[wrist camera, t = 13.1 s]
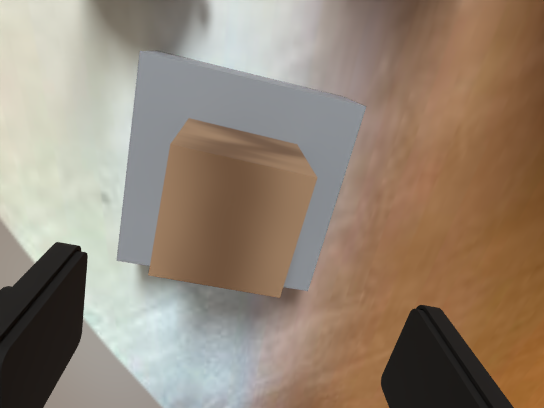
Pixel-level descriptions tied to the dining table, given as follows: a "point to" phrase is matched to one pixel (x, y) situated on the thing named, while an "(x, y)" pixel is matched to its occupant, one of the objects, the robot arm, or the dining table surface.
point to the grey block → (241, 116)
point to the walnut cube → (231, 209)
